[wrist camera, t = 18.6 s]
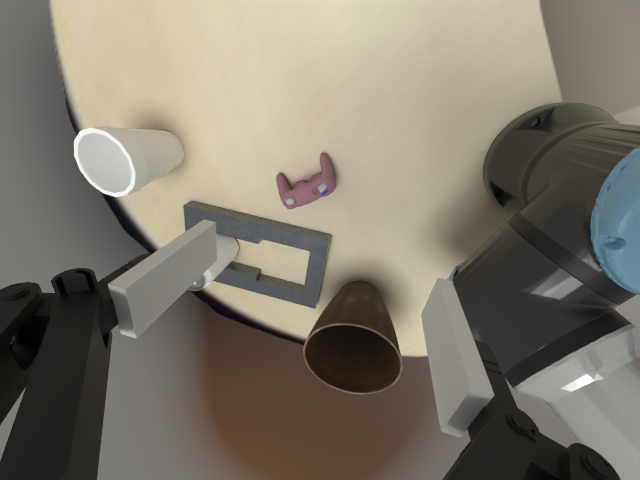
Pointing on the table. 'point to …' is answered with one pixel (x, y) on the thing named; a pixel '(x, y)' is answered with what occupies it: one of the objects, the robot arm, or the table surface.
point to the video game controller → (308, 186)
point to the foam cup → (125, 157)
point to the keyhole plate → (255, 232)
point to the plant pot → (354, 343)
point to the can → (218, 261)
